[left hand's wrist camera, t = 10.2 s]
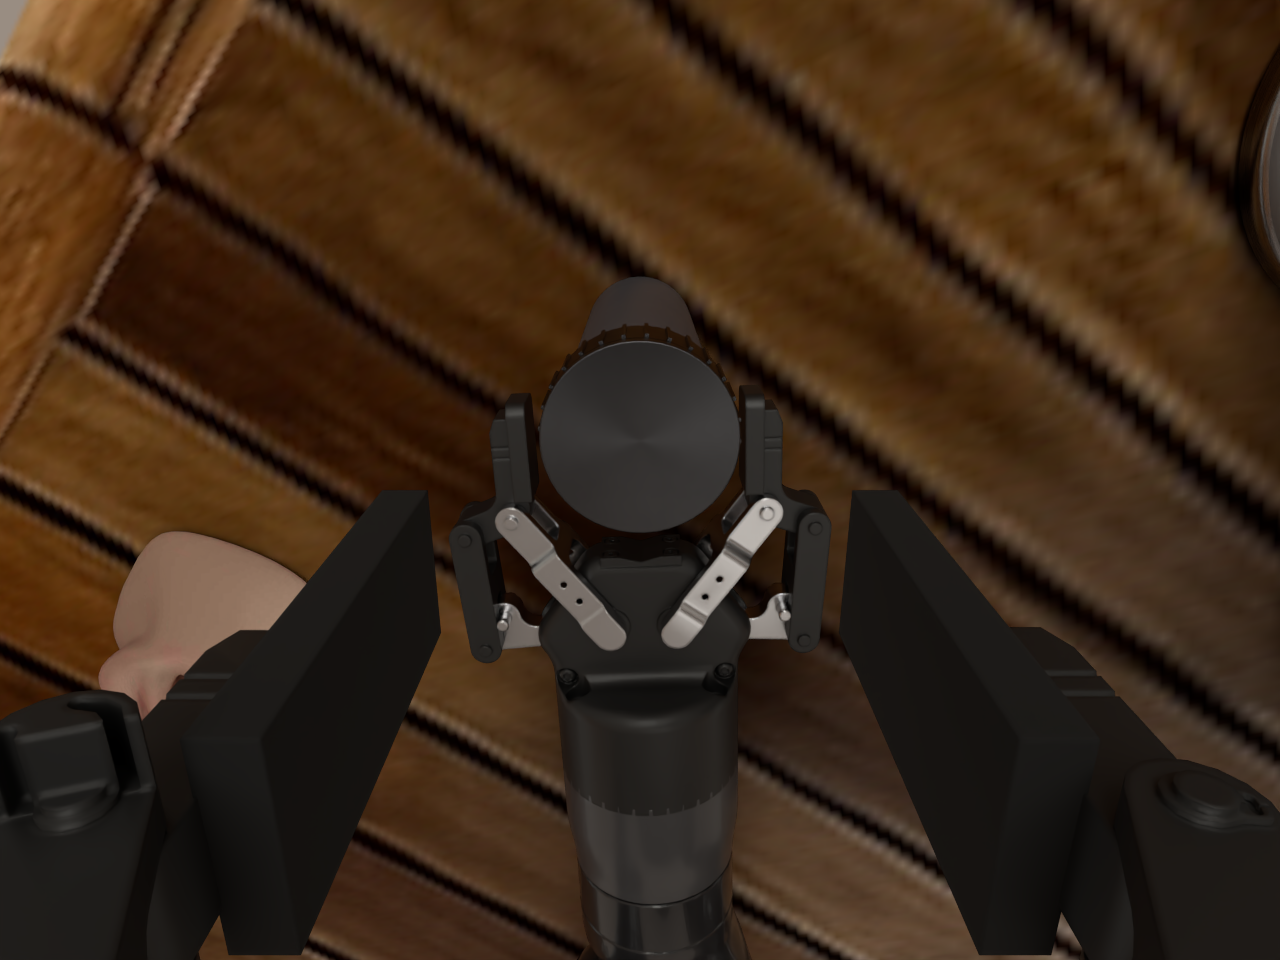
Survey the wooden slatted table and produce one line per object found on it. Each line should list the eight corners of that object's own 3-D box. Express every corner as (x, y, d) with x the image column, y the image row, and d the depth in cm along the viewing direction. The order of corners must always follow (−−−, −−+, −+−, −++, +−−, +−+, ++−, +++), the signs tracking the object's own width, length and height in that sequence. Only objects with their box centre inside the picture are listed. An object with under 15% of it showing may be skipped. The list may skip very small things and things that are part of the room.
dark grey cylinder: (584, 279, 35) (545, 353, 21) (690, 274, 35) (726, 345, 21) (591, 382, 37) (559, 519, 22) (692, 377, 37) (728, 512, 22)
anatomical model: (48, 557, 35) (323, 589, 36) (105, 520, 39) (353, 549, 39) (80, 809, 40) (323, 833, 40) (128, 754, 43) (351, 777, 44)
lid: (537, 326, 22) (526, 342, 20) (733, 317, 22) (743, 332, 20) (554, 507, 24) (545, 540, 22) (735, 500, 24) (744, 531, 22)
